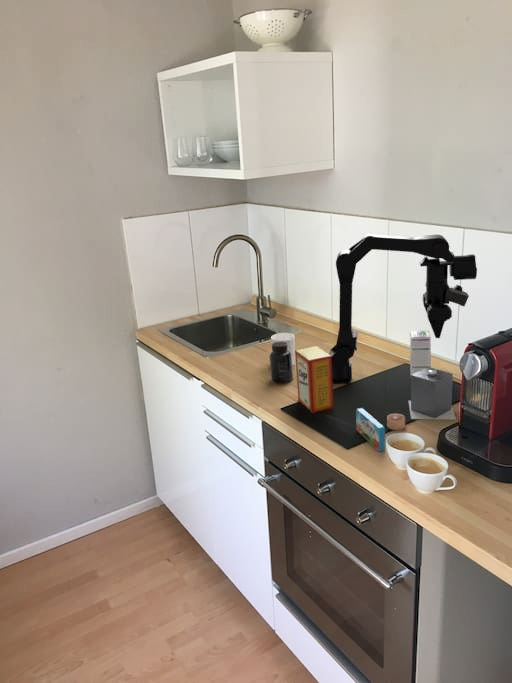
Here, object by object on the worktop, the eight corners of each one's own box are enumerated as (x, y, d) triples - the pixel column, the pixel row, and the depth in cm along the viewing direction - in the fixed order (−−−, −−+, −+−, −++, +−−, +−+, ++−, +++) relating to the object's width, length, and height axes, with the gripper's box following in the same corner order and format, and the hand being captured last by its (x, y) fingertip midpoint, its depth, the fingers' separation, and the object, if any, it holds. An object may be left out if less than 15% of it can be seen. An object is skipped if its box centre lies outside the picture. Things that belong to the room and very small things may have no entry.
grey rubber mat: (411, 420, 149) (411, 418, 148) (408, 402, 159) (408, 400, 159) (455, 421, 146) (455, 419, 146) (450, 402, 157) (450, 400, 156)
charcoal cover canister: (410, 410, 153) (411, 371, 149) (427, 401, 157) (428, 363, 154) (434, 418, 147) (435, 378, 144) (451, 409, 152) (452, 370, 148)
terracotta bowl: (387, 432, 144) (387, 421, 143) (386, 423, 148) (386, 413, 147) (405, 432, 143) (405, 421, 142) (404, 424, 147) (404, 413, 146)
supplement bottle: (296, 376, 183) (294, 341, 179) (288, 385, 177) (285, 348, 173) (276, 374, 186) (273, 339, 182) (268, 382, 180) (265, 346, 176)
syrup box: (431, 382, 170) (431, 336, 165) (410, 382, 171) (410, 336, 166) (429, 375, 175) (430, 330, 170) (409, 375, 176) (409, 330, 172)
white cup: (269, 368, 192) (267, 339, 188) (277, 359, 199) (275, 332, 195) (291, 369, 189) (290, 341, 185) (299, 361, 196) (297, 333, 192)
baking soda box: (298, 400, 166) (295, 348, 161) (318, 396, 168) (316, 344, 162) (311, 413, 157) (308, 359, 152) (333, 408, 159) (331, 354, 154)
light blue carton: (385, 450, 136) (384, 427, 134) (379, 452, 135) (379, 428, 133) (361, 429, 147) (361, 407, 145) (356, 430, 146) (355, 408, 144)
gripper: (472, 287, 152) (470, 343, 157) (461, 271, 169) (460, 322, 174) (428, 289, 154) (428, 343, 159) (422, 273, 172) (422, 323, 177)
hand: (436, 332), depth 167 cm, fingers open, 9 cm apart
